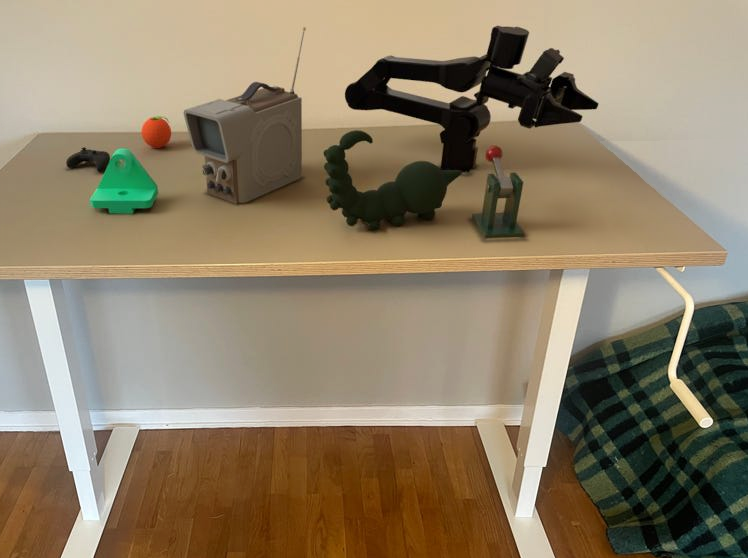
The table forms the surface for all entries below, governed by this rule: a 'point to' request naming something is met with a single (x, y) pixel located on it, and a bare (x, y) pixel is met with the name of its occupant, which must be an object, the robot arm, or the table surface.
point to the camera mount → (124, 185)
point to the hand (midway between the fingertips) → (589, 112)
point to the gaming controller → (89, 158)
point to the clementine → (156, 132)
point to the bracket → (500, 222)
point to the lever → (499, 171)
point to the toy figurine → (385, 188)
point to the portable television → (249, 141)
